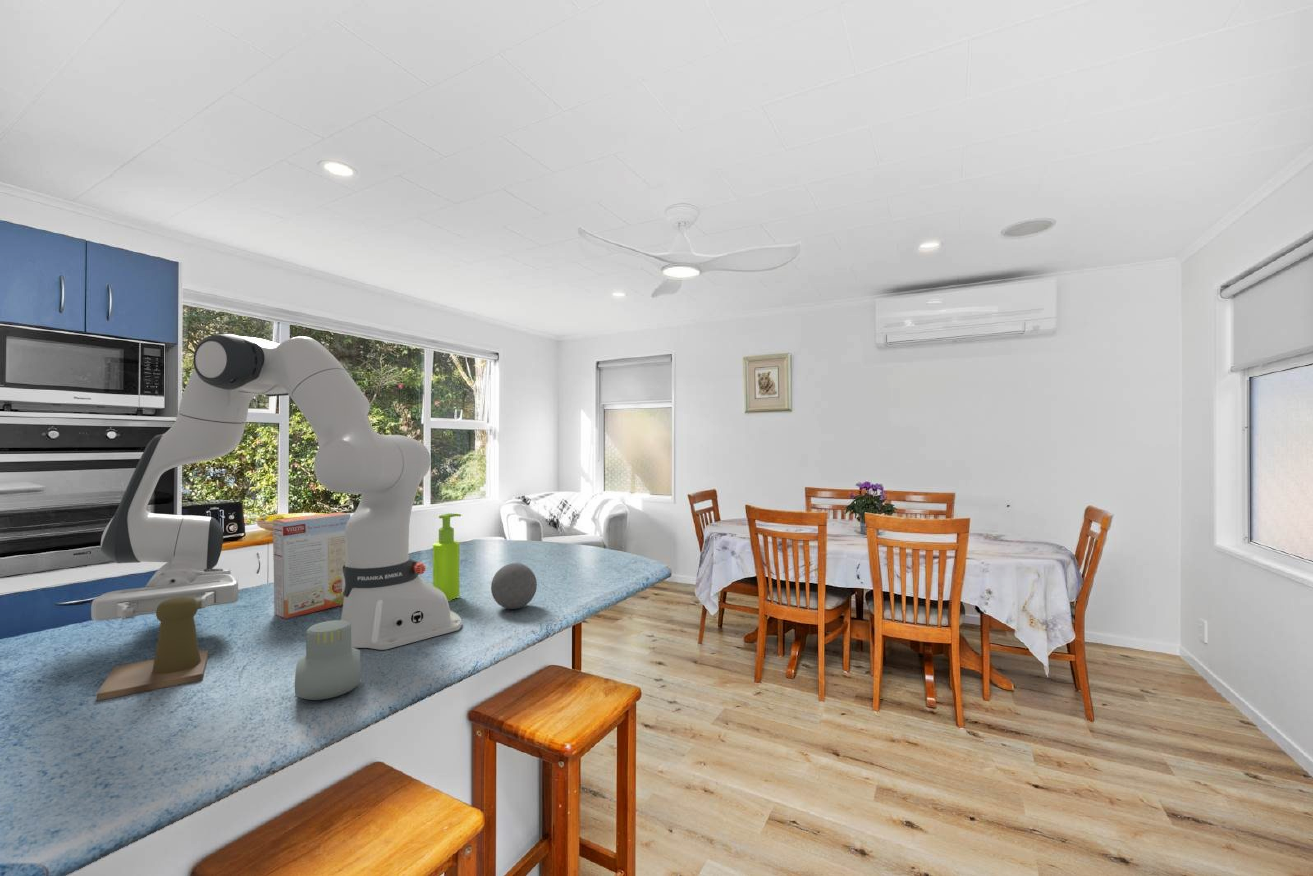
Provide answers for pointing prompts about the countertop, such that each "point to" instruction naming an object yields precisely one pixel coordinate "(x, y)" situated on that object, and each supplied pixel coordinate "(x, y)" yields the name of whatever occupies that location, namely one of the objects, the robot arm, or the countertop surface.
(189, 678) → the walnut board
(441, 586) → the soap dispenser
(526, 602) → the decorative ball
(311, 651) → the air freshener
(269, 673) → the countertop surface
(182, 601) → the cork
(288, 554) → the cracker box
